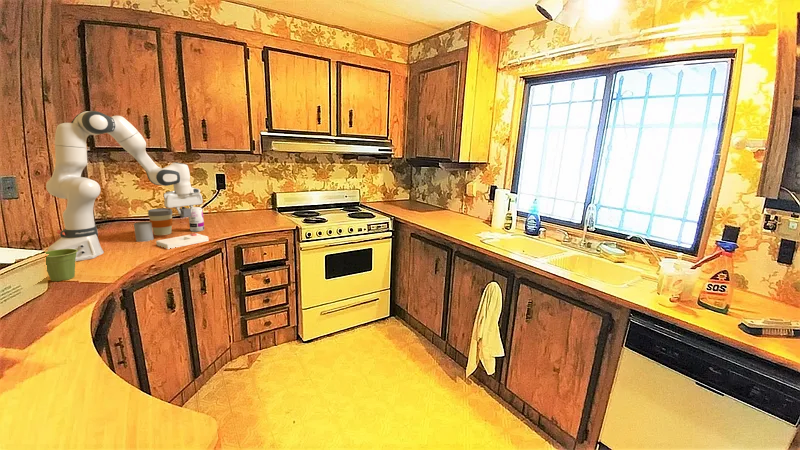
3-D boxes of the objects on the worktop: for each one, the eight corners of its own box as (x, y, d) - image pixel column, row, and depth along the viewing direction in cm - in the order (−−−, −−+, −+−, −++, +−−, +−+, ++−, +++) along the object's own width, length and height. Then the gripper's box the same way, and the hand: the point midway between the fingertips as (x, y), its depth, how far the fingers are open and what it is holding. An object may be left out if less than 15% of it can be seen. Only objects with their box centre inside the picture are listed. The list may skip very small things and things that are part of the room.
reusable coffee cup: (173, 234, 219) (170, 211, 216) (149, 236, 214) (145, 212, 210) (175, 230, 230) (172, 207, 227) (152, 232, 224) (149, 208, 221)
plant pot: (75, 281, 144) (70, 255, 142) (37, 285, 140) (31, 258, 137) (87, 272, 155) (82, 247, 152) (51, 275, 150) (46, 249, 148)
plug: (184, 217, 209) (183, 208, 208) (179, 216, 212) (178, 207, 211) (191, 216, 212) (190, 207, 211) (186, 215, 215) (185, 206, 214)
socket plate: (167, 249, 190) (167, 243, 189) (156, 245, 197) (155, 239, 196) (208, 240, 208) (208, 235, 207) (197, 237, 215) (196, 232, 214)
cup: (144, 242, 202) (142, 225, 200) (132, 241, 204) (129, 224, 202) (157, 238, 210) (155, 222, 208) (145, 237, 212) (143, 221, 210)
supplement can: (203, 228, 237) (201, 206, 234) (205, 231, 230) (202, 208, 227) (189, 229, 232) (187, 207, 229) (190, 232, 226) (188, 209, 223)
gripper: (166, 192, 198) (168, 216, 201) (202, 189, 215) (205, 211, 218) (160, 191, 202) (163, 215, 205) (197, 188, 219) (199, 210, 221)
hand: (185, 213), depth 212 cm, fingers closed on plug, 4 cm apart
